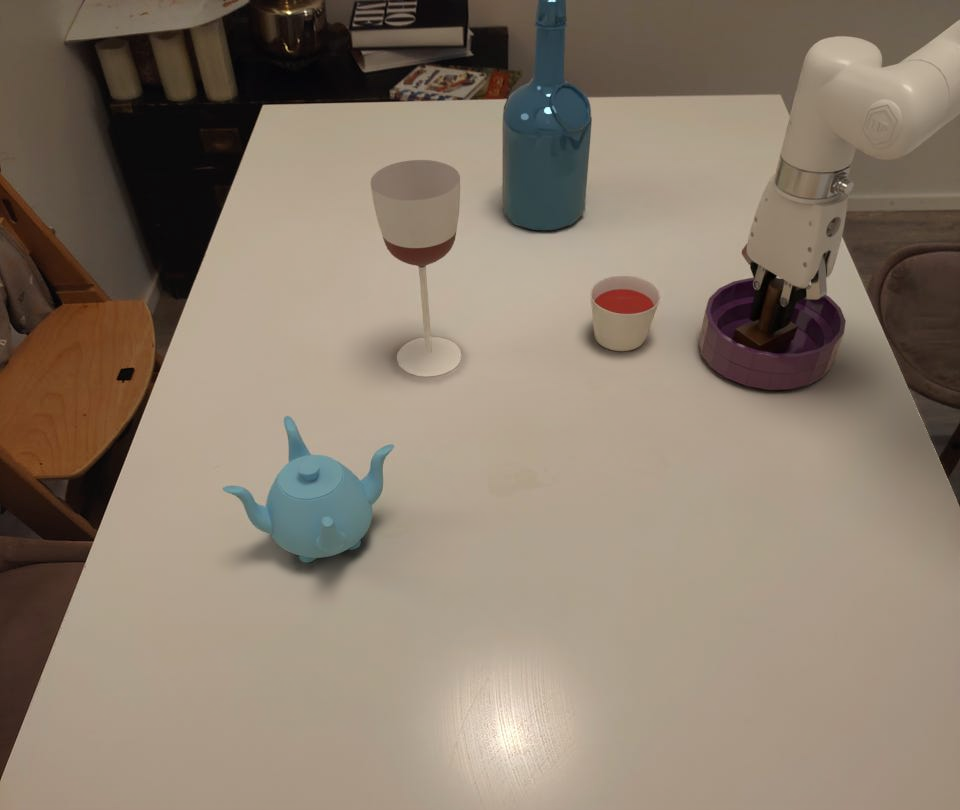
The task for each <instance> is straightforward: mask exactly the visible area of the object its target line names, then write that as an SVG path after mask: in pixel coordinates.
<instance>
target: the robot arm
mask: <svg viewBox="0 0 960 810" xmlns="http://www.w3.org/2000/svg"><path fill="white" fill-rule="evenodd" d="M792 102H793V103H792V106H791V110H790V114H789V118H788V122H787V126H786V130H785V134H784V138H783V141H782V146H781V148H780V149H781V150H780V153H779V157H778V161H777V165H776V169H775V173H774V174H772V175H771V176H770V178H769V180H768V181H767V184H766V186H765V188H764V190H763V192H762V194H761V197H760V200H759V202H758V204H757V208H756V211H755V214H754V216H753V220H752V223H751V226H750V230H749V233H748V238H747V241H746V242H747V243H746V244H744V245H745V246H744V247H743V248H742V249H741V256H742V257H743V259H744V260H745V261H746V263H747V264H748V266H749V268H750V272H751V275H752V278H754V282H753V287H754V289H755V290H756V292H755V296H754V300H753V303H752V310H751V314H750V318H749V319H750V320H751V321H757V320H759V318H760V314H761V310H762V307H763V303H764V300H765V296H766V292H767V289H768V285H769V282H770V281H771V280H773V279H776V278H780V279H784V280H785V282H784V286H783V290H782V294H781V298H780V301H779V302H777V303H776V304H775V305H774V308H773V312H772V315H771V319H770V322H769V326H768V332H770V333H774V332H776V331H778V330H780V329H782V328H784V327H786V326H787V325H788V324H789V323H790V321H791V318H792V315H793V312H794V309H795V306H796V302H797V301H800V300H802V299H809V300H818V299H820V298H822V297H824V296H826V295H827V294H828V286H827V285H828V284H827V278H828V277H830V276H831V274H832V272H833V270H834V267H835V264H836V261H837V257H838V254H839V251H840V247H841V243H842V238H843V234H844V230H845V225H846V218H847V212H848V211H847V210H848V199H849V198H848V197H849V196H848V195H850V193H851V192H852V190H853V189H854V186H855V182H854V181H852V180H850V177H849V175H850V173H851V172H850V171H851V165H852V162H853V159H854V156H855V153H856V150H859V151H861V152H862V153H864V154H866V155H867V156H870V157H872V158H875V159H879V160H884V161H885V160H886V161H889V160H896V159H899V158H902V157H904V156H905V157H906V156H907V155H908V154H910V153H912V152H913V151H914V150H916V149H917V148H919V146H921V145H922V144H923V143H924V142H926V141H927V140H928V139H929V138H931V137H932V136H934V134H935V133H937V132H938V131H939V130H941V129H942V128H943V127H944V126H946V125H947V124H949V122H951V121H952V120H955V118H956V117H958V116H959V115H960V19H958V20H957V21H956V22H954V23H953V24H952V25H950V26H949V27H947V29H945V30H943V32H941V33H940V34H939V35H937V36H936V37H934V38H933V39H932V40H930V41H929V42H928V43H926V44H925V45H923V46H922V47H921V48H920V49H918V50H916V51H914V52H913V53H911V54H910V55H908V56H907V57H905V58H904V59H903V60H901V61H900V62H899V63H896V64H891V65H887V66H883V55H882V52H881V50H880V49H879V48H878V46H877V45H875V44H874V43H872V42H870V41H869V40H866V39H863V38H860V37H854V36H845V35H839V36H831V37H830V36H829V37H826V38H823V39H820V40H818V41H817V42H816V43H814V44H813V45H812V46H811V47H810V48H809V49H808V51H807V52H806V55H805V56H804V60H803V63H802V66H801V70H800V75H799V79H798V82H797V85H796V90H795V93H794V98H793V101H792Z"/></svg>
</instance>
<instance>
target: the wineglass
mask: <svg viewBox="0 0 960 810" xmlns="http://www.w3.org/2000/svg"><path fill="white" fill-rule="evenodd" d="M370 189H371V190H370V191H371V197H372V202H373V206H374V207H373V208H374V211H375V216H376V220H377V224H378V226H379V229H380V233H381V237H382V240H383V242H384V245H385V247H386V249H387V250H388V252H389V253H390V255H391V256H393V257H394V258H396V259H397V260H398V261H400V262H402V263H405V264H407V265H411V266H416V267H418V275H419V276H418V277H419V287H420V288H419V289H420V301H421V313H422V325H423V337H419V338H414V339H412V340H410V341H409V342H406V343H405V344H404V345H403V346H401V347H400V348H399V350H398V352H397V354H396V361H397V364H398V366H399V367H400V368H401V369H402V370H403V371H404V372H406V373H409V374H411V375H413V376H418V377H425V378H426V377H427V378H428V377H438V376H441V375H445V374H447V373H449V372H451V371H453V370H454V369H456V367H458V365H459V364H460V362H461V360H462V351H461V348H460V347H459V346H458V345H457V344H456V343H455V342H454V341H452V340H449V339H447V338H444V337H439V336H432V331H431V329H432V328H431V317H430V305H429V291H428V278H427V277H428V275H427V266H428V265H431V264H434V263H436V262H438V261H440V260H442V258H444V257H445V256H446V255H447V254H449V252H450V251H451V250H452V248H453V246H454V244H455V241H456V236H457V230H458V223H459V216H460V205H461V204H460V203H461V201H460V200H461V175H460V173H459V171H458V170H457V169H456V168H454V167H453V166H452V165H450V164H447V163H445V162H441V161H437V160H430V159H411V160H410V159H409V160H404V161H399V162H395V163H392V164H389V165H387V166H384V167H382V168H380V169H379V170H377V171H376V172H375V173H374V174H373V175H372V177H371V179H370Z"/></svg>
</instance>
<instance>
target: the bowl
mask: <svg viewBox="0 0 960 810" xmlns="http://www.w3.org/2000/svg"><path fill="white" fill-rule="evenodd" d="M776 279H781V278H780V277H776ZM783 280H784V279H783ZM753 282H754V277H748V278H744V279H739V280H733V281H731V282H729V283H727V284H725V285H723V286H721V287H719V288H717V290H716V291H715V292H714V293H712V294H711V296H710V297H709V298H708V300H707V304H706V307H705V310H704V315H703V320H702V325H701V329H700V333H699V334H700V335H699V338H698V346H699V350H700V355H701V356H702V358H703V359H704V360H705V362H706V363H707V364H708V366H709V367H710V368H711V369H713V370H714V371H715V372H717V373H718V374H720V375H721V376H722V377H724V378H726V379H728V380H730V381H733V382H736V383H738V384H741V385H743V386H746V387H751V388H755V389H761V390H765V391H766V390H767V391H768V390H769V391H770V390H772V391H773V390H775V391H777V390H779V391H780V390H793V389H797V388H801V387H807V386H809V385H811V384H813V383H815V382H816V381H817V382H818V380H820V379H822V378H823V377H825V375H827V373H828V371H830V369H831V368H832V367H833V364H834V362H835V358H836V356H837V353H838V350H839V348H840V345H841V343H842V339H843V337H844V334H845V330H846V329H845V328H846V323H847V320H846V318H845V316H844V313H843V311H842V308H841V307H840V306H839V305H838V303H836V301H834V300H833V299H832V298H831V296H829V295H827V294H826V296H824V297H822V298H820V299H818V300H809V299H802V300H800V301H797V302H796V306H795V309H794V312H793V315H792V318H791V321H790V322H792V323H794V324H795V325H797V326H798V328H797V331H796V334H795V337H794V340H792V341H791V343H790V346H789V349H788V350H786V351H784V352H782V353H780V354H776V353H770V352H765V351H759V350H755V349H752V348H749V347H747V346H744V345H741V344H739V343H737V342H735V341H734V340H733V337H734V333H735V329H736V328H738V327H740V326H742V325H744V324H746V323H748V322H750V321H751V320H750V319H749V318H750V314H751V310H752V303H753V300H754V296H755V292H756V290H755V289H754V287H753Z"/></svg>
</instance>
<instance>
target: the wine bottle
mask: <svg viewBox="0 0 960 810" xmlns="http://www.w3.org/2000/svg"><path fill="white" fill-rule="evenodd" d="M536 4H537V5H536V12H535V20H534V27H535V28H536V29H535V43H534V44H535V45H534V59H533V60H534V62H533V76H532V77H531V79H530V81H527V82H525V83H524V84H522V85H521V86H519V87H518V88H517V89H515V90H514V91H512V93H510V94H509V96H508V97H507V99H506V101H505V103H504V106H503V110H502V112H503V113H502V154H501V155H502V157H501V158H502V159H501V160H502V164H501V165H502V176H501V177H502V178H501V179H502V184H501V185H502V187H501V188H502V189H501V190H502V193H501V194H502V195H501V196H502V199H501V201H502V207H501V210H502V212H503V215H504V216H505V217H506V218H507V219H508V220H509V221H510V222H511V223H513V224H514V226H518V227H522V228H524V229H528V230H530V231H555V230H559V229H562V228H566V227H569V226H572V225H573V224H575V222H577V221H578V219H580V218H581V217H582V216H583V214H584V212H585V210H586V198H587V197H586V196H587V184H588V175H589V162H590V161H589V160H590V148H591V137H592V136H591V135H592V121H593V120H592V119H593V116H592V107H591V102H590V100H589V98H588V96H587V95H586V93H585V92H584V91H582V90H581V89H580V88H579V87H578V86H576V85H574V84H573V83H571V82H570V81H567V79H566V76H565V47H566V45H565V43H566V27H568V20H567V0H537V3H536Z"/></svg>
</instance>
